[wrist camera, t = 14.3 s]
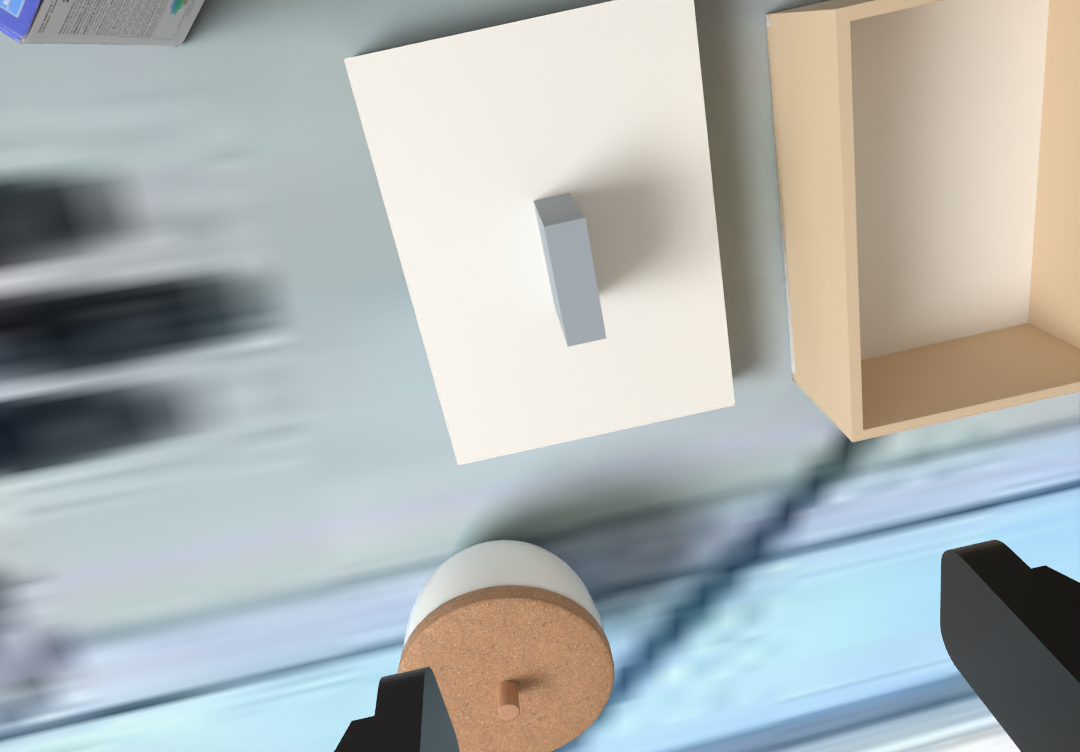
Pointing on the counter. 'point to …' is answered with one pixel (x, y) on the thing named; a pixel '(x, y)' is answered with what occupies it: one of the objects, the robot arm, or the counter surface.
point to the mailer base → (929, 205)
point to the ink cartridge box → (99, 21)
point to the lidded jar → (511, 647)
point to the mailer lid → (555, 221)
